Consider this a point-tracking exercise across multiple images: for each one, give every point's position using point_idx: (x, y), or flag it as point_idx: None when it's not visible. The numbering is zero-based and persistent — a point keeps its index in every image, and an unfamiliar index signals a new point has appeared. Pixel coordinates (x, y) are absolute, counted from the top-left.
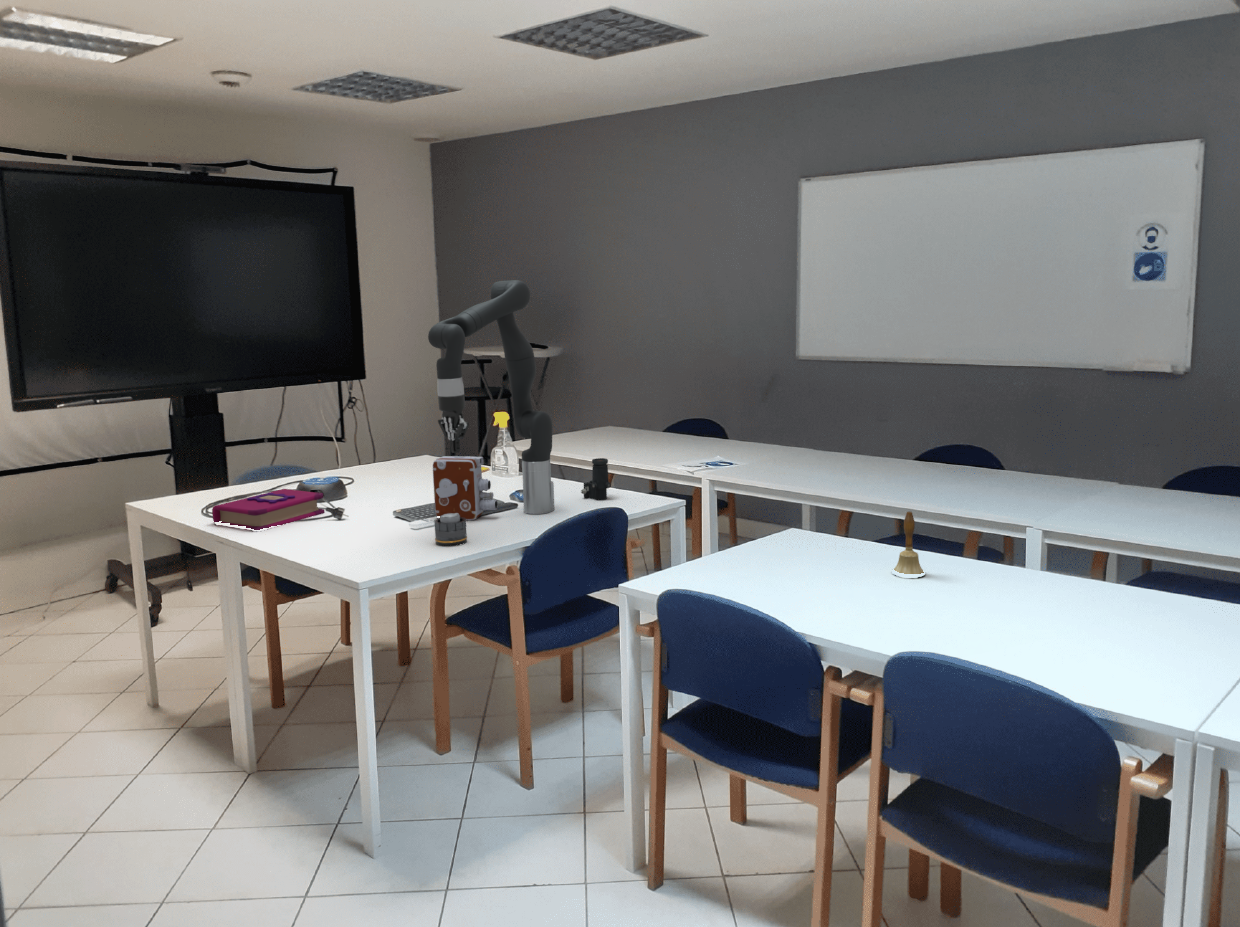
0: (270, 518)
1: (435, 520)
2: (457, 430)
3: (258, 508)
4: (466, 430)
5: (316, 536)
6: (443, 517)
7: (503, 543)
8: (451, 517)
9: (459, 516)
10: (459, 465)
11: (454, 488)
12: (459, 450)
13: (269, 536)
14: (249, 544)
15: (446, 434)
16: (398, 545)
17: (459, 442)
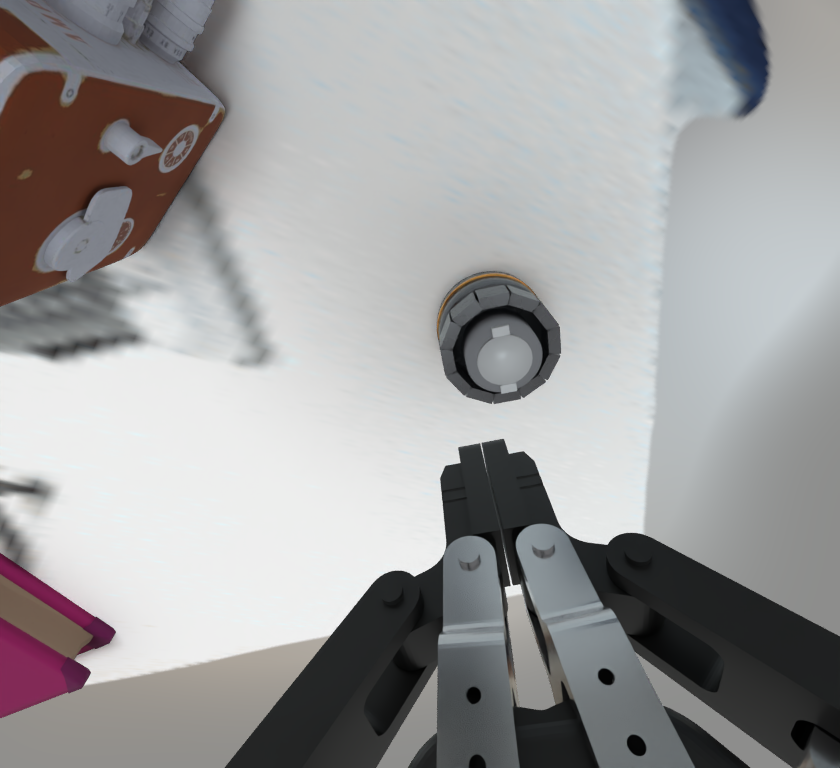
0: (57, 630)
1: (466, 392)
2: (735, 715)
3: (49, 678)
4: (815, 626)
5: (218, 563)
6: (516, 388)
7: (633, 175)
8: (530, 362)
9: (528, 328)
10: (6, 175)
11: (111, 202)
12: (522, 453)
13: (173, 623)
14: (229, 653)
15: (435, 662)
16: (422, 448)
17: (552, 509)
